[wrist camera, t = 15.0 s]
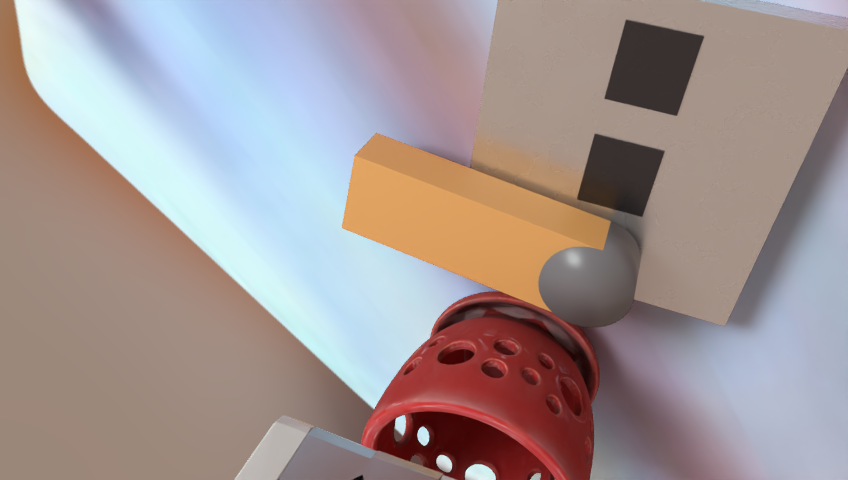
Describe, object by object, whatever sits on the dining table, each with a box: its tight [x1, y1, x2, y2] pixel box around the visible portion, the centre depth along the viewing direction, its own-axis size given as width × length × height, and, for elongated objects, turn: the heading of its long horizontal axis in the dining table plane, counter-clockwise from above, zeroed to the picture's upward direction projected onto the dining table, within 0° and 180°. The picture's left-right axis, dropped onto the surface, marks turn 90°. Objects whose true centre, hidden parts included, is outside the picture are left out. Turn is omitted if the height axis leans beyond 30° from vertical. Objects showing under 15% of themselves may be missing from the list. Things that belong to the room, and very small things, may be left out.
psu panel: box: [470, 0, 848, 326], centre depth 38 cm, size 16×17×2 cm
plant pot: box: [361, 291, 599, 480], centre depth 45 cm, size 13×13×12 cm
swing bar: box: [342, 133, 641, 327], centre depth 40 cm, size 5×16×3 cm, turn 77°
